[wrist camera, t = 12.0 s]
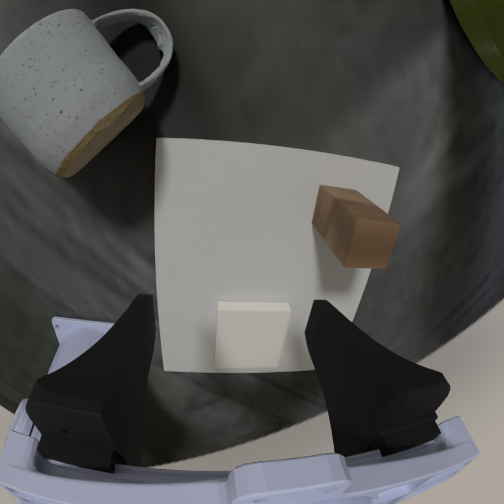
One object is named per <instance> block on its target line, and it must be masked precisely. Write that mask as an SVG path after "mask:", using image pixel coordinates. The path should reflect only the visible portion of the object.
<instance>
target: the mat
mask: <svg viewBox="0 0 504 504" xmlns="http://www.w3.org/2000/svg"><path fill="white" fill-rule="evenodd" d="M398 172H399V167H397V166H392V165H388V164H383V163H378V162H373V161H368V160H363V159H358V158H353V157H347V156H341V155H336V154H330V153H323V152H317V151H310V150H303V149H296V148H288V147H280V146H272V145H263V144H253V143H243V142H231V141H218V140H203V139H182V138H156V158H155V261H156V283H157V299H158V313H159V326H160V337H161V347H162V356H163V365H164V371H179V372H205V373H261V372H288V371H305V370H315V368H314V366H313V363H312V360H311V357H310V355H309V352H308V348H307V343H306V338H305V333H304V332H305V329H306V325H307V322H308V318H309V315H310V312H311V308H312V305H313V301H314V300H327V301H328V302H330V303H331V304H332V305H333V306H334V307H335V308H337V309H338V310H339V311H340V312H341V313H342V314H343V315H344V316H345V317H346V318H348V319H349V320H350V321H351V322H352V321H353V318H354V316H355V313H356V310H357V308H358V305H359V302H360V300H361V297H362V294H363V291H364V288H365V286H366V283H367V280H368V277H369V274H370V271H371V269H370V268H346V267H343V266H342V264H341V263H340V261H339V260H338V259H337V257H336V256H335V254H334V253H333V252H332V250H331V249H330V247H329V246H328V245H327V243H326V242H325V240H324V239H323V238H322V236H321V235H320V233H319V232H318V231H317V229H316V228H315V227H314V225H313V224H312V219H313V214H314V209H315V205H316V200H317V195H318V190H319V185H326V186H333V187H340V188H347V189H353V190H357V191H358V192H359V193H361V194H362V195H364V196H365V197H366V198H368V199H369V200H370V201H371V202H373V203H374V204H375V205H377V206H378V207H379V208H381V209H382V210H383V211H384V212H386V213H387V214H388V212H389V208H390V204H391V200H392V196H393V193H394V189H395V185H396V180H397V176H398ZM218 301H226V302H270V303H289V306H290V308H291V311H292V312H291V316H290V320H289V324H288V328H287V332H286V336H285V340H284V343H283V347H282V351H281V355H280V359H279V362H278V366H277V367H262V368H214V351H215V334H216V319H217V304H218Z"/></svg>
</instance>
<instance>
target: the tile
mask: <svg viewBox="0 0 504 504" xmlns="http://www.w3.org/2000/svg"><path fill="white" fill-rule="evenodd" d="M291 312H292V311H291V308H290V306H289V303H270V302H226V301H218V304H217V319H216V334H215V351H214V368H262V367H277V366H278V362H279V359H280V355H281V351H282V347H283V343H284V340H285V336H286V332H287V328H288V324H289V320H290V316H291Z"/></svg>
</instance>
